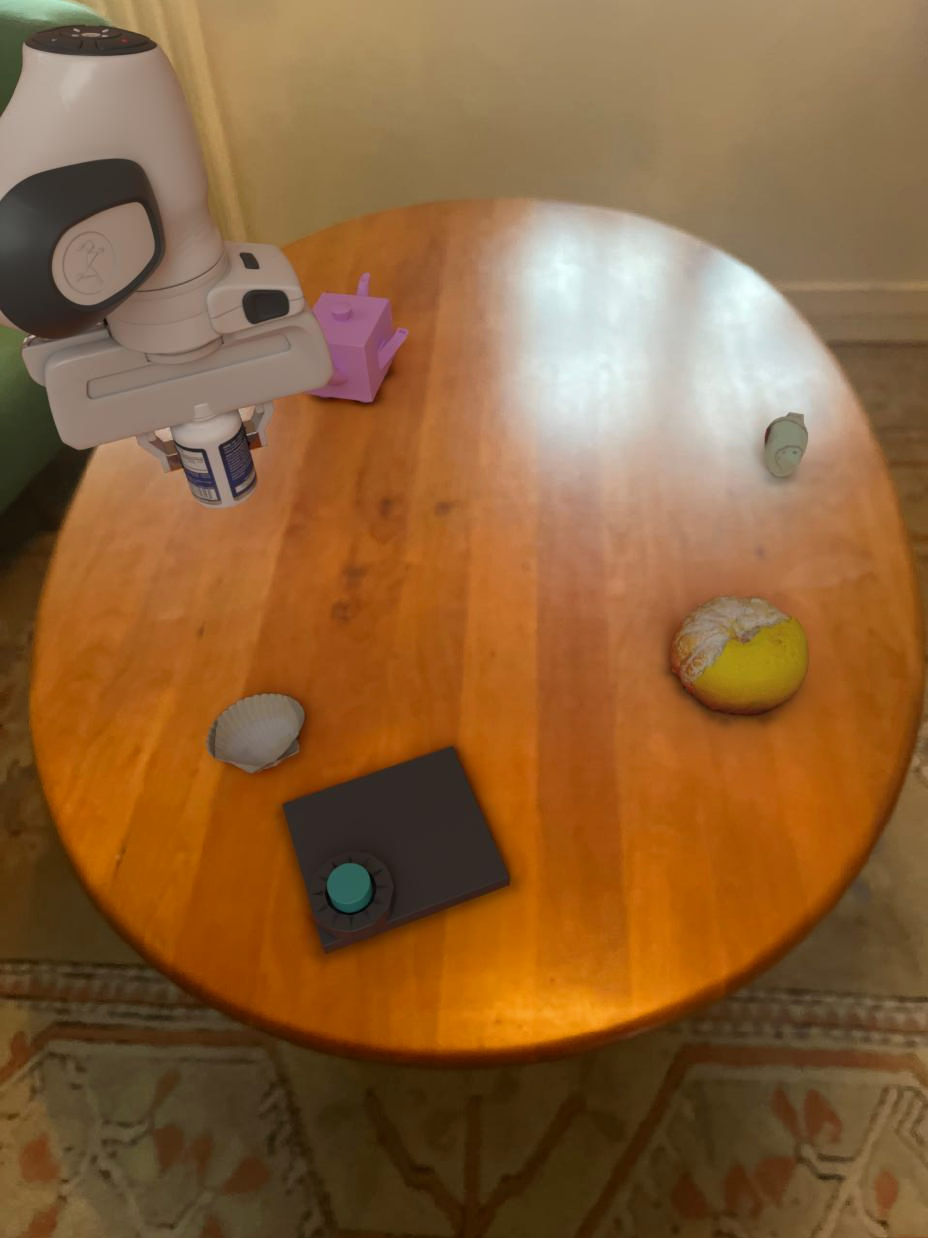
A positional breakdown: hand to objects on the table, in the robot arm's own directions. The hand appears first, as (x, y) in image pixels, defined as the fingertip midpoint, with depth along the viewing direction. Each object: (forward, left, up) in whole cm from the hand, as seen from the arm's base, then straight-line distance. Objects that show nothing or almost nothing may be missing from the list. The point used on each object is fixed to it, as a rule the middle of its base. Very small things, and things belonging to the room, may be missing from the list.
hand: (216, 454), depth 75 cm
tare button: (0, -32, -15) cm, 35 cm away
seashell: (-3, -15, -18) cm, 24 cm away
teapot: (+18, +29, -18) cm, 38 cm away
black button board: (+4, -28, -18) cm, 33 cm away
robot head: (+53, -3, -18) cm, 56 cm away
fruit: (+36, -23, -18) cm, 46 cm away
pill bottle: (0, 0, -4) cm, 4 cm away
